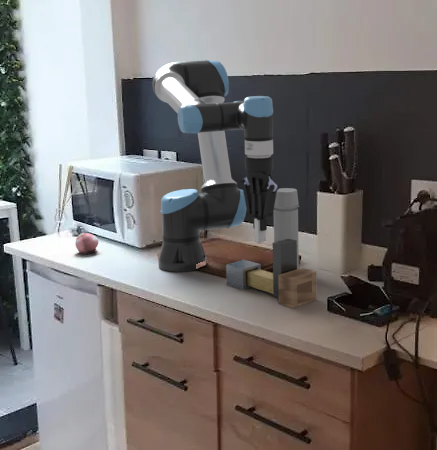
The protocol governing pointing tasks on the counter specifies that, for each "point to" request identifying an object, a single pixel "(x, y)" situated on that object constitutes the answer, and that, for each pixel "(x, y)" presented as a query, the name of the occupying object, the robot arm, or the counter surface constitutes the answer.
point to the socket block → (297, 287)
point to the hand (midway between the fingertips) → (260, 241)
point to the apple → (86, 243)
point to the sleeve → (239, 273)
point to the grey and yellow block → (275, 267)
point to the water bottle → (286, 216)
